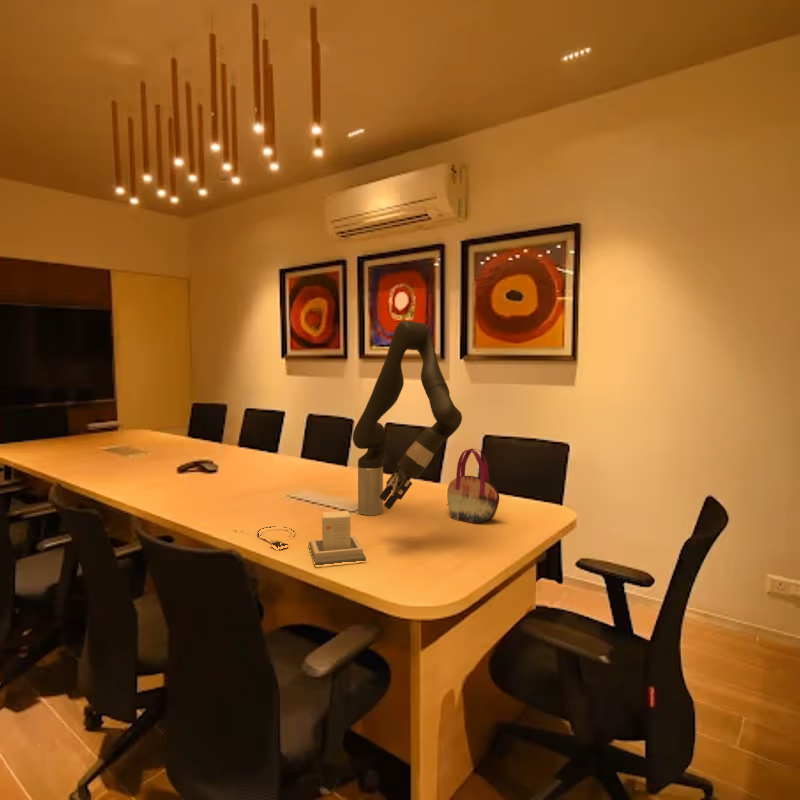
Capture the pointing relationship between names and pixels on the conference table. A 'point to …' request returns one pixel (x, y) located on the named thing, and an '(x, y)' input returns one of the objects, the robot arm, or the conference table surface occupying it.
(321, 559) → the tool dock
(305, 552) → the conference table surface
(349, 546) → the small box
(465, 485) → the handbag
